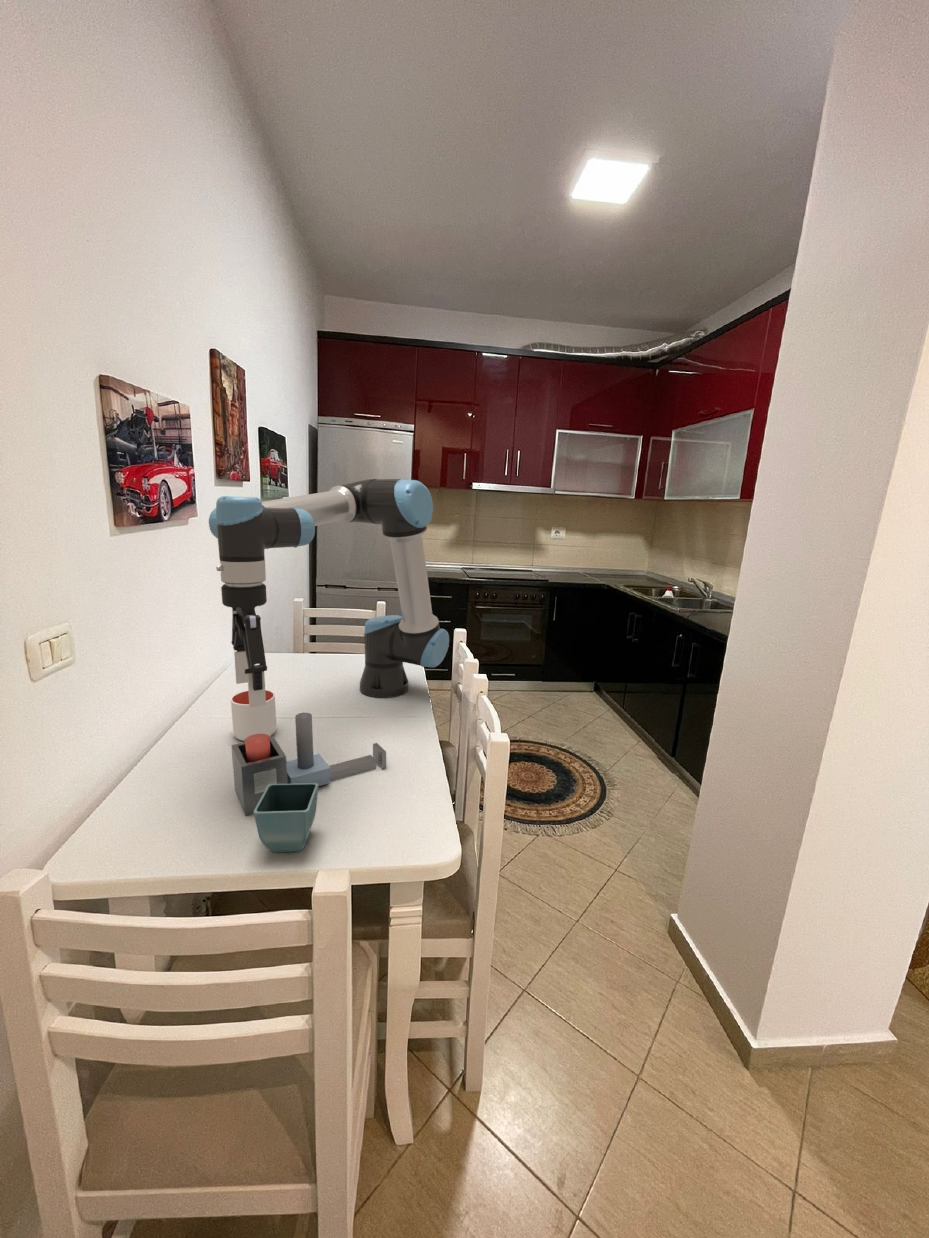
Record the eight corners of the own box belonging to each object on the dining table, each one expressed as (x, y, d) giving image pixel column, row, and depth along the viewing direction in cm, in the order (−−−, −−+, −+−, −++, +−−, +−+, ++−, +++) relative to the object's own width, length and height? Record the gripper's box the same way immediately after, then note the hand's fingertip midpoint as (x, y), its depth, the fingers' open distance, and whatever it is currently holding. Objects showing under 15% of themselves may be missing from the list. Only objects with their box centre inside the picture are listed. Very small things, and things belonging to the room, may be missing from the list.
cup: (262, 745, 123) (259, 706, 120) (224, 740, 125) (221, 702, 122) (284, 728, 132) (282, 691, 130) (249, 723, 134) (247, 687, 132)
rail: (377, 758, 118) (376, 742, 117) (386, 768, 114) (386, 751, 113) (278, 784, 106) (277, 767, 105) (285, 796, 102) (284, 778, 101)
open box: (275, 779, 108) (273, 735, 106) (288, 803, 100) (286, 756, 98) (234, 789, 104) (231, 744, 102) (245, 816, 96) (241, 767, 93)
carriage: (319, 770, 112) (317, 706, 109) (330, 785, 106) (328, 718, 103) (282, 780, 108) (278, 713, 104) (291, 796, 102) (288, 726, 99)
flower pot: (270, 827, 93) (268, 782, 91) (320, 826, 94) (318, 782, 92) (255, 860, 84) (252, 812, 82) (310, 859, 85) (308, 811, 83)
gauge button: (267, 754, 103) (266, 731, 102) (273, 764, 100) (272, 740, 99) (244, 760, 101) (243, 736, 100) (249, 770, 97) (247, 745, 96)
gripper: (211, 575, 102) (219, 676, 106) (232, 596, 81) (241, 721, 86) (252, 573, 106) (257, 671, 110) (281, 593, 85) (287, 712, 90)
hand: (250, 693), depth 98 cm, fingers open, 13 cm apart
